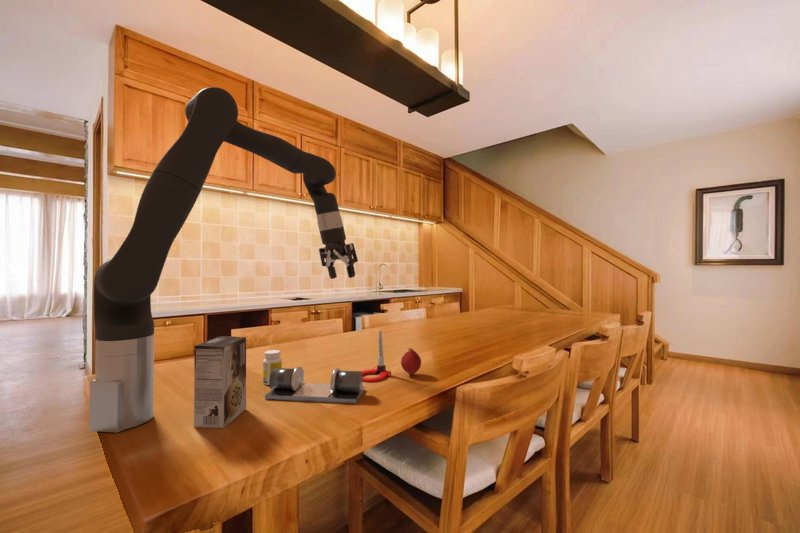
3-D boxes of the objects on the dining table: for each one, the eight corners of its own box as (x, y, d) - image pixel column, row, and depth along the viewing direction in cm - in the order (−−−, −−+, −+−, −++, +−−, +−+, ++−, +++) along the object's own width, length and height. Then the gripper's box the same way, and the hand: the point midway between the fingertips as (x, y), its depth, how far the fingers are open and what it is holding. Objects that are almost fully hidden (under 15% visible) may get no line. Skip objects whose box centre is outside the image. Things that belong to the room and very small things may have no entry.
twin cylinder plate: (364, 389, 87) (364, 364, 87) (355, 403, 78) (356, 375, 78) (282, 386, 90) (282, 361, 90) (265, 399, 81) (265, 371, 81)
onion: (408, 370, 103) (408, 344, 104) (424, 374, 100) (424, 347, 100) (397, 375, 99) (397, 348, 99) (413, 379, 95) (413, 351, 95)
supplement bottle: (284, 380, 95) (284, 349, 95) (276, 385, 90) (277, 354, 90) (268, 379, 95) (268, 349, 95) (259, 385, 90) (259, 353, 90)
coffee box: (218, 408, 75) (219, 335, 75) (247, 409, 75) (247, 336, 75) (192, 428, 66) (192, 345, 66) (224, 428, 66) (225, 345, 66)
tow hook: (370, 386, 91) (393, 376, 98) (368, 338, 91) (392, 332, 98) (350, 379, 97) (373, 370, 104) (348, 334, 97) (372, 328, 104)
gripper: (307, 232, 107) (319, 281, 110) (337, 226, 99) (350, 280, 101) (325, 228, 113) (336, 275, 116) (355, 222, 104) (366, 273, 107)
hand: (342, 277), depth 108 cm, fingers open, 8 cm apart
